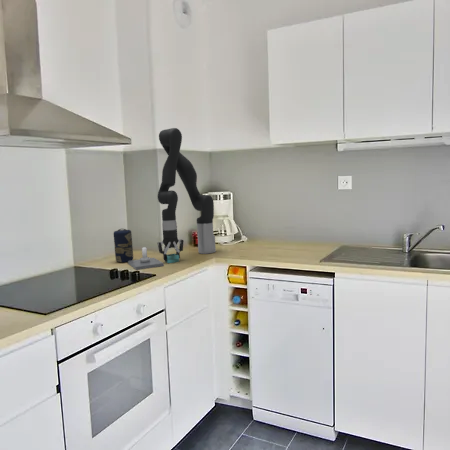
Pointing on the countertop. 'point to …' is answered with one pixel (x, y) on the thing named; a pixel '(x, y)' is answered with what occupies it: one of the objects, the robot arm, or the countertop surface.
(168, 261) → the collar
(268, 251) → the countertop surface
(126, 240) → the canister
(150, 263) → the shaft stand
